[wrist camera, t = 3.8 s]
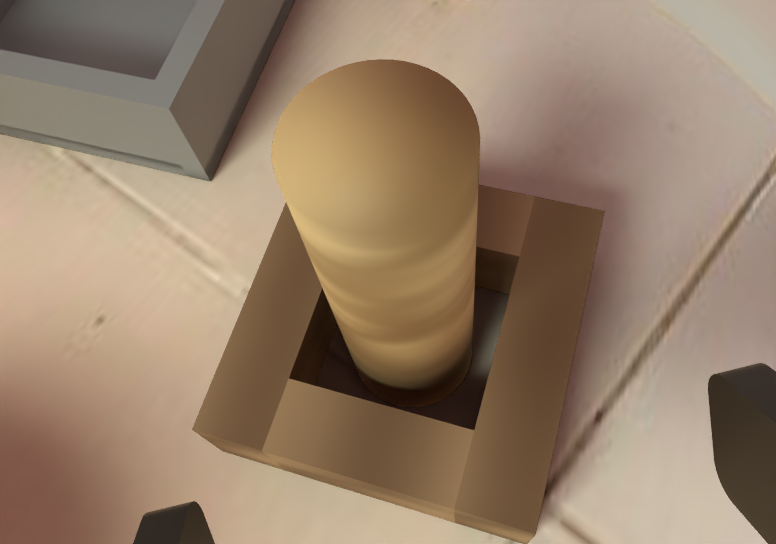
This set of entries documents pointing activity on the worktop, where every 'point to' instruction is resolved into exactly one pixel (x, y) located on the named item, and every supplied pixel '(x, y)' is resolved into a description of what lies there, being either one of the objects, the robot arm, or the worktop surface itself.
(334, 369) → the worktop surface
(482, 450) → the socket block
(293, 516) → the worktop surface
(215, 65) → the tray
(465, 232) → the dowel
